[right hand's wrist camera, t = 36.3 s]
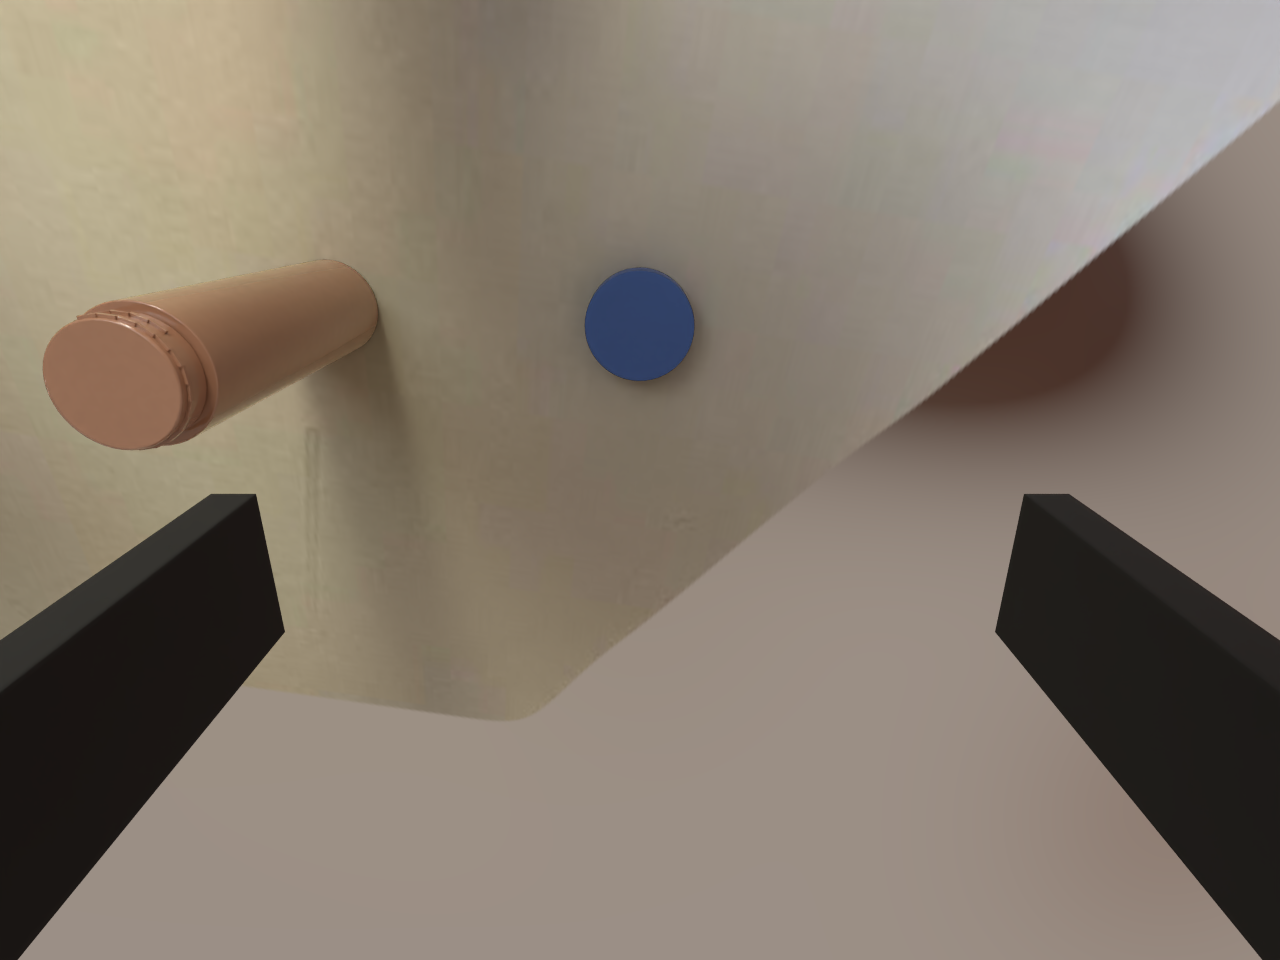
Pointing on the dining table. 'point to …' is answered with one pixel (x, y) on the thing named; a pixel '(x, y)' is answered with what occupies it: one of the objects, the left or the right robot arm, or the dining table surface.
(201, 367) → the jar
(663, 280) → the lid
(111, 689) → the right robot arm
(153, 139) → the dining table surface
